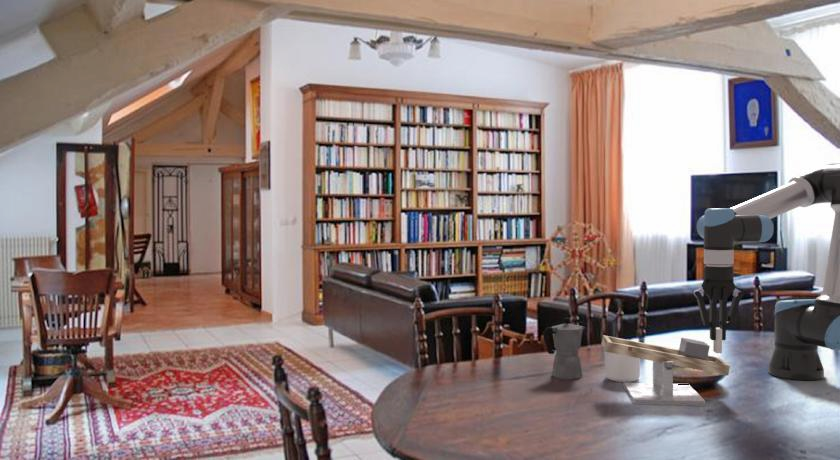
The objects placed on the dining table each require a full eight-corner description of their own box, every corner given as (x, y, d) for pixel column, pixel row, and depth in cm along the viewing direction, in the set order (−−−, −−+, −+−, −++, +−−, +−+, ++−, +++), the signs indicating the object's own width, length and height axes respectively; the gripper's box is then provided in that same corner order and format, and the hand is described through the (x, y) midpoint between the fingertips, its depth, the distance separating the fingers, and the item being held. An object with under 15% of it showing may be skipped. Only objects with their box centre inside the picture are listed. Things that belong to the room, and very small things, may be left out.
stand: (688, 388, 204) (688, 349, 203) (705, 405, 186) (705, 363, 186) (623, 386, 206) (623, 348, 206) (634, 404, 188) (634, 362, 188)
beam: (716, 369, 199) (718, 357, 199) (727, 378, 189) (730, 365, 188) (600, 347, 203) (603, 335, 203) (605, 354, 192) (608, 342, 192)
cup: (641, 384, 209) (641, 350, 209) (606, 382, 211) (606, 348, 211) (637, 375, 219) (638, 343, 218) (604, 374, 221) (604, 342, 220)
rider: (700, 359, 197) (703, 341, 197) (706, 364, 191) (709, 346, 191) (678, 355, 198) (681, 337, 198) (683, 359, 192) (686, 341, 192)
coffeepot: (574, 370, 226) (574, 313, 226) (594, 376, 218) (594, 318, 217) (534, 375, 220) (534, 317, 219) (552, 382, 211) (552, 322, 211)
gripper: (739, 264, 196) (738, 349, 197) (689, 264, 197) (689, 348, 198) (748, 266, 188) (747, 355, 189) (697, 266, 190) (696, 354, 191)
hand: (717, 352), depth 194 cm, fingers closed
